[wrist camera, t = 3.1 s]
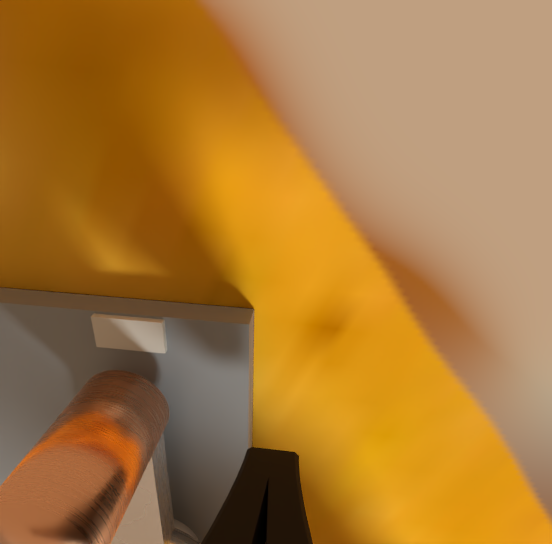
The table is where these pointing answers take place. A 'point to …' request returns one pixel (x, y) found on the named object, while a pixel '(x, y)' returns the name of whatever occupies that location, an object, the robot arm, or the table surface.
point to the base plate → (144, 362)
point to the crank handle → (96, 472)
